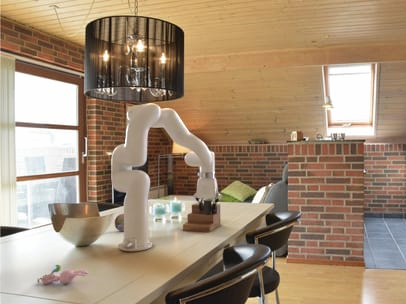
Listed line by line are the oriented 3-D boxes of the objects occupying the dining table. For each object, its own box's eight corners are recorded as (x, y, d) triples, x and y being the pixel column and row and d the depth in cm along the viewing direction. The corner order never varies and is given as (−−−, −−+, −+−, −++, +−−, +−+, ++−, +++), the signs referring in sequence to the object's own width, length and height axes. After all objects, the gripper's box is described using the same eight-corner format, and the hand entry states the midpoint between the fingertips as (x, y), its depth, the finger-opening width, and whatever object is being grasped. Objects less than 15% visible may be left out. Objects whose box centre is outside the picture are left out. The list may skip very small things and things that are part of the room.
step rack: (209, 232, 167) (209, 209, 167) (182, 230, 171) (182, 208, 171) (220, 224, 183) (220, 204, 183) (195, 223, 187) (195, 203, 187)
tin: (117, 232, 168) (117, 215, 168) (113, 231, 170) (113, 214, 170) (143, 227, 180) (142, 210, 180) (139, 226, 182) (139, 210, 182)
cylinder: (210, 215, 174) (210, 201, 174) (202, 214, 175) (202, 200, 175) (212, 213, 178) (212, 200, 177) (205, 213, 179) (205, 199, 179)
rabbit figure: (34, 291, 102) (82, 284, 100) (31, 271, 102) (78, 263, 100) (48, 283, 108) (93, 276, 106) (45, 264, 108) (90, 257, 106)
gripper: (188, 176, 175) (189, 211, 175) (221, 176, 170) (221, 213, 170) (194, 175, 182) (194, 209, 182) (225, 175, 177) (226, 210, 177)
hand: (207, 210), depth 176 cm, fingers open, 6 cm apart
